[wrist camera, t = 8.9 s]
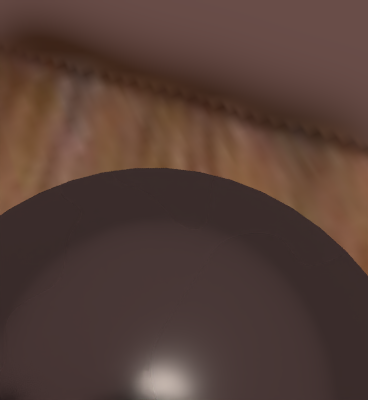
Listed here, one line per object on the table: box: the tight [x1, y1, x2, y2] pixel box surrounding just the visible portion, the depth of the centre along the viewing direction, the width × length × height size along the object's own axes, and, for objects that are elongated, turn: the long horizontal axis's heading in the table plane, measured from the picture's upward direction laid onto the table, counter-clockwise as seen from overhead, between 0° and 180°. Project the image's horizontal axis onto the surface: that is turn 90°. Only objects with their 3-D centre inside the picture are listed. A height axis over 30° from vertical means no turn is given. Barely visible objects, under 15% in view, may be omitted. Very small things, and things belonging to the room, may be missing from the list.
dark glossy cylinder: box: [0, 168, 368, 400], centre depth 9 cm, size 4×4×12 cm
